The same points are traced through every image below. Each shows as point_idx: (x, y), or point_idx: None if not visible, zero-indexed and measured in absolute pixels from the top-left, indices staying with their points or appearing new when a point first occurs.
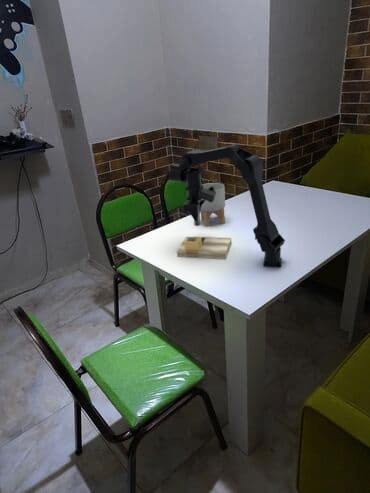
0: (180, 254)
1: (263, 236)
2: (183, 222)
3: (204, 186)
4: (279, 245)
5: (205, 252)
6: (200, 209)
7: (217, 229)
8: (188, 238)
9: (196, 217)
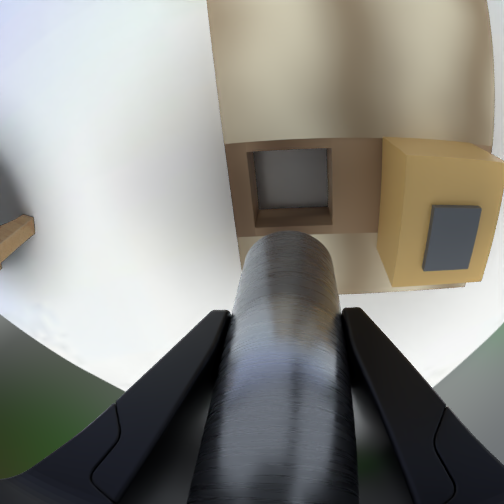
0: None
1: None
2: (56, 336)
3: None
4: None
5: (494, 90)
6: (128, 429)
7: (37, 140)
8: (439, 269)
9: (401, 370)
